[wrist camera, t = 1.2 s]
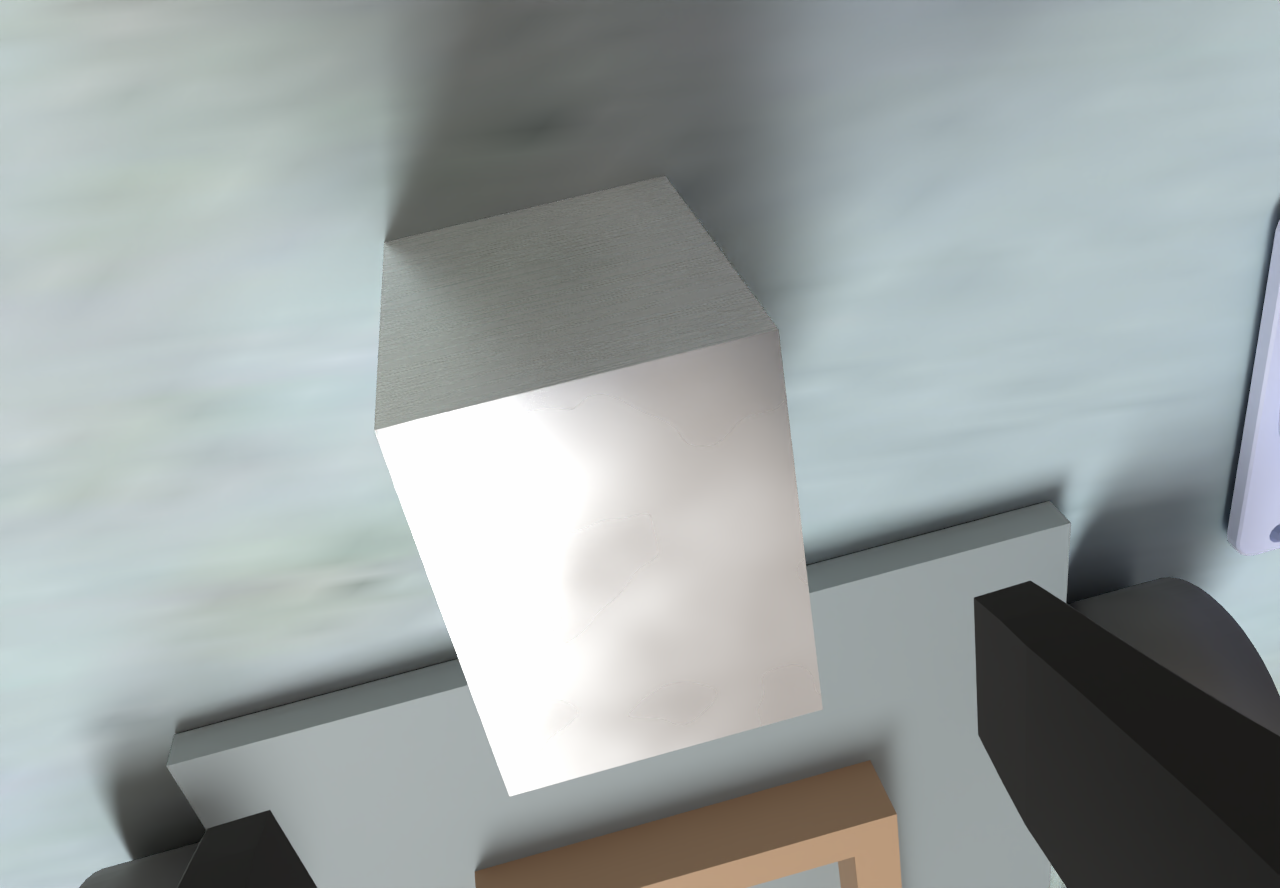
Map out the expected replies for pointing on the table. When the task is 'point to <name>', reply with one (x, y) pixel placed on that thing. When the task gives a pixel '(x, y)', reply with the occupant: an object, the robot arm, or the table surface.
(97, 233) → the table surface
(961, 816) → the chassis board
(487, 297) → the block
